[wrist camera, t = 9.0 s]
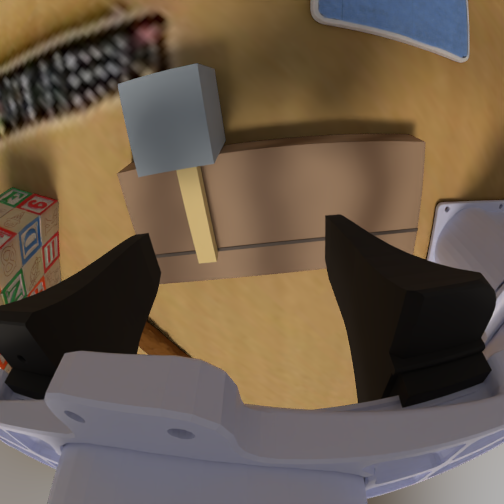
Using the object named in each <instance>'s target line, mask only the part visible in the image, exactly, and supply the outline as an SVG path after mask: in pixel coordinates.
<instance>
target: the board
mask: <svg viewBox="0 0 504 504" xmlns="http://www.w3.org/2000/svg"><path fill="white" fill-rule="evenodd" d="M424 159H425V142H424V141H422V140H420V139H418V138H416V137H414V136H412V135H409V134H342V135H321V136H305V137H292V138H281V139H271V140H261V141H253V142H245V143H237V144H230V145H223V147H222V149H221V151H220V153H219V155H218V157H217V159H216V161H215V163H214V164H210V165H204V166H200V167H201V172H202V178H203V183H204V188H205V193H206V198H207V202H208V207H209V212H210V217H211V222H212V227H213V231H214V236H215V241H216V245H217V250H218V258H217V262H210V263H200V264H199V262H198V258H197V254H196V250H195V246H194V243H193V239H192V235H191V231H190V227H189V223H188V219H187V215H186V210H185V206H184V202H183V198H182V194H181V189H180V185H179V180H178V176H177V171H176V170H174V171H168V172H163V173H157V174H152V175H147V176H142V177H138V174H137V170H136V166H135V162H132V163H130V164H129V165H128V166H126V167H125V168H124V169H122V170H121V171H120V172H119V173H117V175H118V178H119V182H120V185H121V189H122V192H123V195H124V199H125V202H126V205H127V208H128V212H129V215H130V218H131V221H132V224H133V227H134V230H135V233H136V234H144V233H149V236H150V239H151V243H152V246H153V249H154V252H155V255H156V258H157V261H158V264H159V267H160V270H161V278H160V283H159V284H166V283H179V282H191V281H203V280H215V279H226V278H237V277H248V276H258V275H268V274H278V273H288V272H298V271H307V270H317V269H326V268H327V267H326V262H325V215H337V214H341V215H343V216H345V217H346V218H348V219H349V220H351V221H352V222H354V223H355V224H357V225H358V226H360V227H361V228H363V229H365V230H366V231H368V232H369V233H371V234H372V235H374V236H376V237H377V238H379V239H381V240H383V241H385V242H386V243H388V244H390V245H392V246H394V247H396V248H398V249H400V250H403V251H405V252H407V253H409V254H412V255H413V251H414V246H415V240H416V234H417V230H418V228H417V227H418V220H419V213H420V205H421V196H422V186H423V174H424Z"/></svg>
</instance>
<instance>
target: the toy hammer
mask: <svg viewBox="0 0 504 504" xmlns="http://www.w3.org/2000/svg"><path fill="white" fill-rule="evenodd" d="M118 89H119V94H120V100H121V105H122V110H123V114H124V119H125V124H126V128H127V133H128V137H129V142H130V146H131V150H132V154H133V158H134V162H135V166H136V170H137V174H138V177H142V176H147V175H152V174H157V173H163V172H168V171H174V170H176V171H177V176H178V180H179V185H180V189H181V194H182V198H183V202H184V206H185V210H186V215H187V219H188V223H189V227H190V231H191V235H192V239H193V243H194V246H195V250H196V254H197V258H198V262H199V264H200V263H210V262H217V258H218V250H217V245H216V241H215V236H214V231H213V227H212V222H211V217H210V212H209V207H208V202H207V198H206V193H205V188H204V183H203V178H202V172H201V167H200V166H204V165H210V164H214V163H215V161H216V159H217V157H218V155H219V153H220V151H221V149H222V147H223V145H224V143H225V141H226V139H225V133H224V126H223V120H222V114H221V107H220V101H219V94H218V88H217V81H216V75H215V69H213V68H210V67H207V66H204V65H201V64H198V63H196V64H191V65H187V66H182V67H178V68H173V69H169V70H165V71H161V72H157V73H154V74H150V75H146V76H143V77H139V78H136V79H133V80H130V81H126V82H123V83H120V84H118Z"/></svg>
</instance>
